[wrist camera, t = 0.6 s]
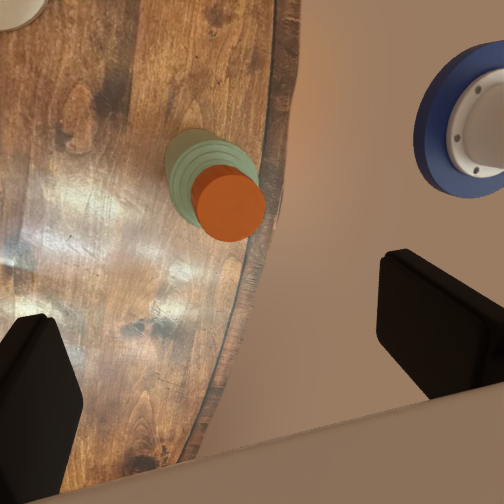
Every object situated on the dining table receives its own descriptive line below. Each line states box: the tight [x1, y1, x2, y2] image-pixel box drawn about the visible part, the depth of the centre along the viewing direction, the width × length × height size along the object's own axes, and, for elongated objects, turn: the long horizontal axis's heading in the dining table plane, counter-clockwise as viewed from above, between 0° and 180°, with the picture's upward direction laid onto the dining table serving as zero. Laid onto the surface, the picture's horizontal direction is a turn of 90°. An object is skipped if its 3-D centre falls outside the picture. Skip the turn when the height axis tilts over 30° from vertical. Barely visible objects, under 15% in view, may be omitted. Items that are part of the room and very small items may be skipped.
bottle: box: [164, 129, 259, 229], centre depth 29 cm, size 6×6×18 cm
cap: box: [190, 164, 265, 242], centre depth 22 cm, size 4×4×4 cm
